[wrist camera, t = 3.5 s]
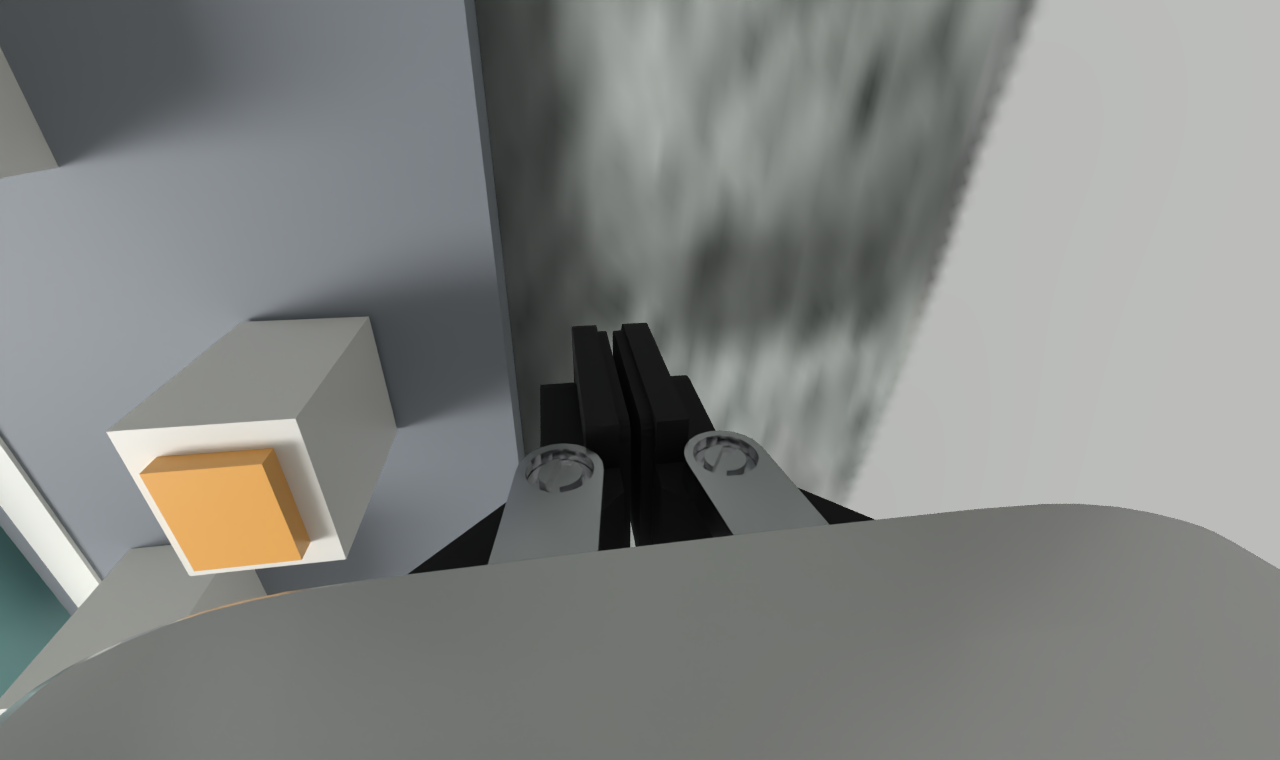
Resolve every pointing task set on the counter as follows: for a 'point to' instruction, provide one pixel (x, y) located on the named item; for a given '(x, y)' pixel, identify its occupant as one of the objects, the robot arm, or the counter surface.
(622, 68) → the counter surface
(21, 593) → the socket
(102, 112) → the breaker panel
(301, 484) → the block
